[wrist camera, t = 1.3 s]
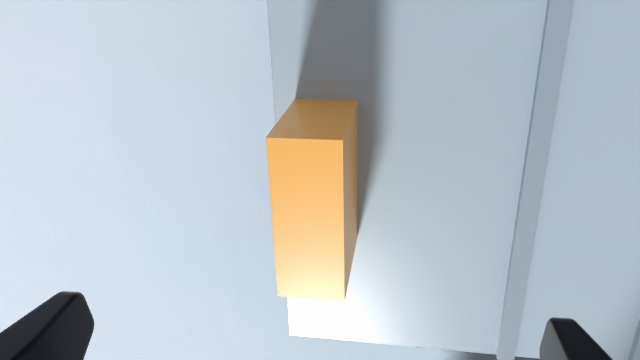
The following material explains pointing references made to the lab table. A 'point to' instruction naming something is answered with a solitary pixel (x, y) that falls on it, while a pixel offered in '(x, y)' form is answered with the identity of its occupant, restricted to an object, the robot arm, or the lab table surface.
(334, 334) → the lid
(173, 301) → the lab table surface
